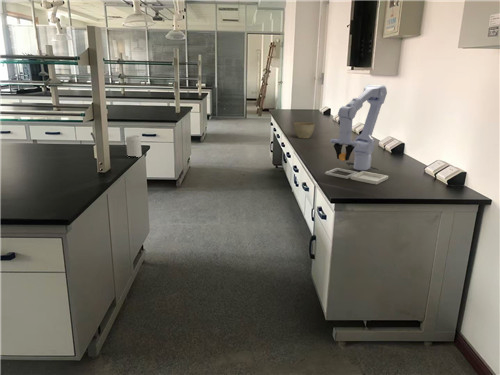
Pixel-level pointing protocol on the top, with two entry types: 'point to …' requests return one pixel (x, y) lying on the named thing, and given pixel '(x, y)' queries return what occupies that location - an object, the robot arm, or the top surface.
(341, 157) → the ball
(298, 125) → the planter bowl
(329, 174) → the tray
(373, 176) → the dish
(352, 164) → the black flat plate
